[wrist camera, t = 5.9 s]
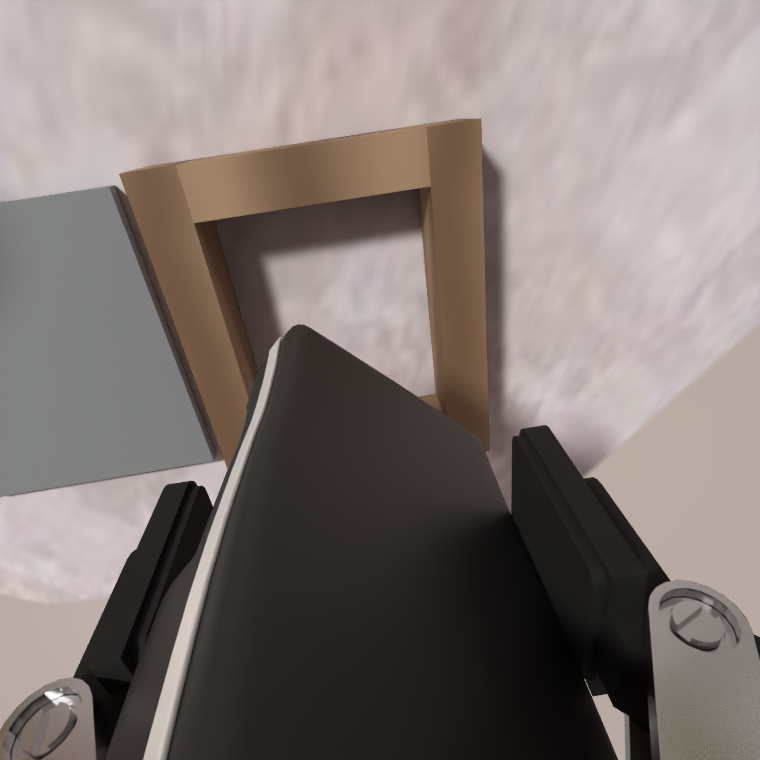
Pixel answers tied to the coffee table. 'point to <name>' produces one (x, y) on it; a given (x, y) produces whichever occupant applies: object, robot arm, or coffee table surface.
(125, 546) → the coffee table surface
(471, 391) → the frame
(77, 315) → the mat
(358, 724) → the battery charger
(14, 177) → the coffee table surface
